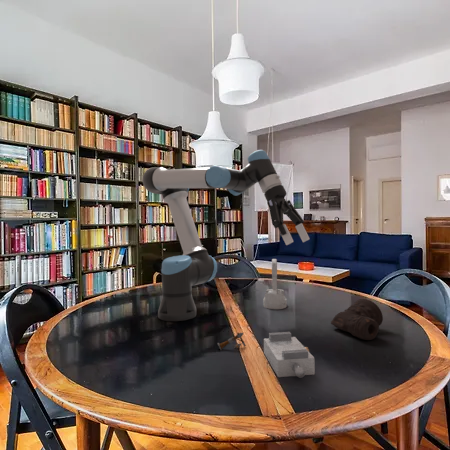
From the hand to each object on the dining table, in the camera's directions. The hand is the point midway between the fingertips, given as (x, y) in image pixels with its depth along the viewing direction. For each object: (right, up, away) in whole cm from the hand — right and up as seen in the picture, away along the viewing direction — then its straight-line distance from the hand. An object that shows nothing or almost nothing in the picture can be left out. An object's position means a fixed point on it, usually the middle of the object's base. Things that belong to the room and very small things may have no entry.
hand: (298, 242), depth 108 cm
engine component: (-4, -30, +29) cm, 41 cm away
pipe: (+19, -30, -5) cm, 36 cm away
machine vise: (-9, -30, -29) cm, 42 cm away
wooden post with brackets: (-24, -30, -17) cm, 42 cm away
